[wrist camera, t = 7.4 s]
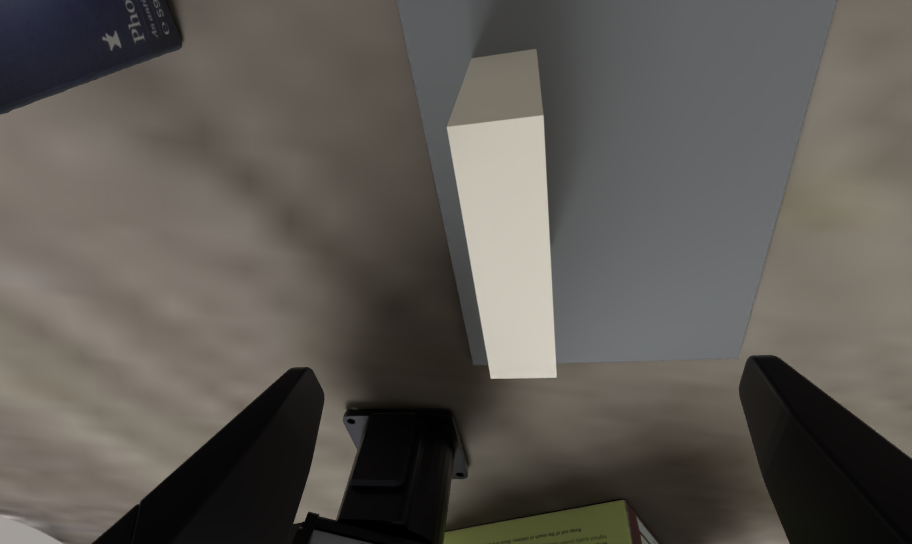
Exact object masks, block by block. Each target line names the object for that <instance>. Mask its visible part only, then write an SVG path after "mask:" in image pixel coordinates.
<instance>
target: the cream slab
mask: <svg viewBox="0 0 912 544" xmlns="http://www.w3.org/2000/svg"><path fill="white" fill-rule="evenodd" d="M447 131H448V137H449V143H450V149H451V154H452V160H453V166H454V171H455V177H456V183H457V188H458V194H459V200H460V206H461V211H462V217H463V223H464V228H465V234H466V240H467V245H468V251H469V257H470V262H471V268H472V274H473V280H474V285H475V291H476V297H477V302H478V308H479V314H480V319H481V325H482V331H483V336H484V342H485V348H486V354H487V359H488V365H489V371H490V376H491V379H511V378H557V374H556V354H555V334H554V314H553V294H552V275H551V255H550V235H549V215H548V195H547V176H546V156H545V136H544V116H543V106H542V97H541V87H540V77H539V68H538V58H537V49H531V50H524V51H518V52H511V53H504V54H497V55H491V56H484V57H477V58H471V61H470V64H469V67H468V69H467V72H466V75H465V78H464V80H463V83H462V86H461V89H460V92H459V94H458V97H457V100H456V103H455V105H454V108H453V111H452V114H451V116H450V119H449V122H448V125H447Z"/></svg>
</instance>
